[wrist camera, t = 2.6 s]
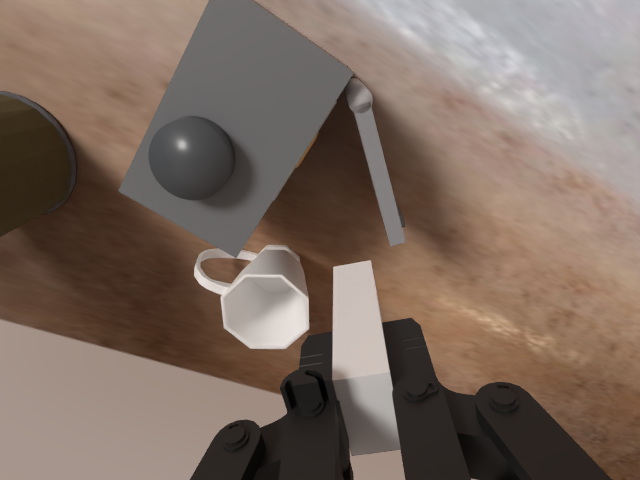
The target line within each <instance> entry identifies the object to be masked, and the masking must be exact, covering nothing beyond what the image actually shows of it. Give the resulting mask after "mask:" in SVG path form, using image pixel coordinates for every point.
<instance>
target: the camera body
mask: <svg viewBox="0 0 640 480" xmlns="http://www.w3.org/2000/svg"><path fill="white" fill-rule="evenodd" d="M352 75H353V72H352V71H351V70H350V69H349V68H348V66H346V65H345V64H343V63H342V62H341V61H339V60H338V59H336V58H335V57H333V56H332V55H331V54H329V53H328V52H326V51H325V50H324V49H322V48H321V47H319V46H318V45H316V44H315V43H314V42H312V41H311V40H309V39H308V38H307V37H305V36H304V35H302V34H301V33H299V32H298V31H297V30H295V29H294V28H292V27H291V26H289V25H288V24H287V23H285V22H284V21H282V20H281V19H280V18H278V17H277V16H275V15H274V14H272V13H271V12H270V11H268V10H267V9H265V8H264V7H263V6H261V5H260V4H258V3H257V2H255V1H254V0H209V2H208V4H207V6H206V8H205V10H204V12H203V14H202V16H201V18H200V20H199V23H198V25H197V27H196V29H195V31H194V33H193V35H192V37H191V39H190V41H189V44H188V46H187V48H186V50H185V52H184V54H183V56H182V58H181V60H180V62H179V65H178V67H177V69H176V71H175V73H174V75H173V77H172V79H171V81H170V83H169V86H168V88H167V90H166V92H165V94H164V96H163V98H162V100H161V102H160V104H159V106H158V109H157V111H156V113H155V115H154V117H153V119H152V121H151V123H150V125H149V127H148V130H147V132H146V134H145V136H144V138H143V140H142V142H141V144H140V146H139V148H138V151H137V153H136V155H135V157H134V159H133V161H132V163H131V165H130V167H129V169H128V172H127V174H126V176H125V178H124V180H123V182H122V184H121V186H120V188H119V190H118V191H119V192H120V193H122V194H124V195H126V196H127V197H129V198H131V199H133V200H134V201H136V202H138V203H140V204H142V205H143V206H145V207H147V208H149V209H150V210H152V211H154V212H156V213H157V214H159V215H161V216H163V217H164V218H166V219H168V220H170V221H171V222H173V223H175V224H177V225H178V226H180V227H182V228H184V229H185V230H187V231H189V232H191V233H193V234H194V235H196V236H198V237H200V238H201V239H203V240H205V241H207V242H208V243H210V244H212V245H214V246H215V247H217V248H219V249H221V250H222V251H224V252H226V253H228V254H229V255H231V256H233V257H235V258H237V256H238V255H239V253H240V252H241V250H242V248H243V247H244V245H245V244H246V242H247V241H248V239H249V237H250V236H251V234H252V233H253V231H254V230H255V228H256V226H257V225H258V223H259V222H260V220H261V218H262V217H263V215H264V214H265V212H266V211H267V209H268V207H269V206H270V204H271V203H272V201H274V200H275V199H276V197H277V196H278V194H279V193H280V191H281V189H282V188H283V186H284V185H285V183H286V182H287V180H288V178H289V177H290V175H291V174H292V172H293V171H294V169H295V167H297V168H298V166H299V165H300V163H301V162H302V160H303V159H304V157H305V155H306V154H307V152H308V151H309V149H310V148H311V146H312V144H313V143H314V141H315V140H316V138H317V137H318V132H319V130H320V128H321V126H322V125H323V123H324V122H325V120H326V119H327V117H328V115H329V114H330V112H331V111H332V109H333V108H334V106H335V104H336V103H337V102H336V100H337V98H338V97H339V95H340V94H341V92H342V91H343V89H344V87H345V86H346V84H347V83H348V81H349V80H350V78H351V76H352Z"/></svg>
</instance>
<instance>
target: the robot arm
mask: <svg viewBox="0 0 640 480" xmlns="http://www.w3.org/2000/svg"><path fill="white" fill-rule="evenodd" d="M300 357H301V359H300V364H299V365H300V367H299V370H296V371H294V372H292V373H291V374H289V375H288V376H287V377H286V378H285V379H284V380H283V381H282V384H281V386H280V390H281V393H282V396H283V399H284V402H285V405H286V408H287V414H286V415H285V416H284V417H282V418H281V419H279V420H277V421H275V422H273V423H271V424H269V425H266V426H264V427H261V428H259V426H258V425H257V424H256V423H255V422H253V421H250V420H239V421H235V422H233V423H230V424H229V425H227V426H225V427H224V428H223V429H221V430H220V431H219V432H218V434H217V435H216V436H215V437H214V439H213V441H212V442H211V444H210V446H209V448H208V449H207V451H206V453H205V455H204V456H203V458H202V460H201V461H200V463H199V465H198V467H197V468H196V470H195V472H194V474H193V476H192V477H191V479H190V480H353V471H352V467H351V463H350V452H349V447H350V451H351V454H352V456H355V455H362V454H371V453H378V452H386V451H393V450H401V454H402V461H403V467H404V473H405V479H406V480H471V478H472V479H477V480H612V479H611V478H610V477H609V476H608V475H607V474H606V473H605V472H604V471H603V470H602V469H601V468H600V467H599V466H598V465H597V464H596V463H595V462H594V461H593V459H592V458H591V457H590V456H589V455H588V454H587V453H586V452H585V451H584V450H583V449H582V448H581V447H580V446H579V445H578V444H577V443H576V442H575V441H574V440H573V439H572V438H571V437H570V436H569V435H568V433H567V432H566V431H565V430H564V429H563V428H562V427H561V426H560V425H559V424H558V423H557V422H556V421H555V420H554V419H553V418H552V417H551V416H550V415H549V414H548V413H547V412H546V411H545V410H544V409H543V407H542V406H541V405H540V404H539V403H538V402H537V401H536V400H535V399H534V398H533V397H532V396H531V395H530V394H529V393H528V392H527V391H525V390H524V389H523V388H521V387H520V386H517V385H514V384H511V383H505V382H495V383H489V384H487V385H485V386H483V387H481V388H480V389H479V391H478V392H477V393H476V395H467V394H460V393H456V392H453V391H450V390H448V389H447V388H445V387H444V386H442V385H441V384H440V382H439V381H438V379H437V377H436V375H435V371H434V368H433V365H432V362H431V358H430V355H429V352H428V349H427V346H426V342H425V339H424V336H423V333H422V329H421V326H420V325H419V324H418V323H417V322H415V321H414V320H413V319H412V318H408V319H401V320H395V321H389V322H382V316H381V311H380V306H379V301H378V295H377V290H376V285H375V280H374V274H373V269H372V264H371V260H369V261H363V262H357V263H352V264H346V265H341V266H335V267H333V332H328V333H322V334H316V335H310V336H308V337H307V339H306V340H305V342H304V343H303V345H302V347H301V356H300Z"/></svg>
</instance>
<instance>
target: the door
mask: <svg viewBox="0 0 640 480" xmlns="http://www.w3.org/2000/svg"><path fill="white" fill-rule="evenodd" d="M344 91H345V94H346V98H347V101H348V105H349V107H350V109H351V110H352V111H353V114H354V118H355V121H356V125H357V129H358V132H359V136H360V140H361V144H362V147H363V151H364V155H365V158H366V162H367V166H368V169H369V173H370V177H371V181H372V184H373V188H374V192H375V195H376V199H377V203H378V206H379V209H380V213H381V216H382V220H383V223H384V226H385V230H386V233H387V237H388V240H389V243H390V246H394V245H398V244H401V243H405V238H404V234H403V230H402V228H403V227H405V223H404V219H403V216H402V213H401V211H400V209H399V206H398V204H397V201H396V199H395V197H394V194H393V190H392V186H391V182H390V178H389V175H388V171H387V167H386V163H385V159H384V155H383V151H382V147H381V143H380V139H379V135H378V131H377V127H376V123H375V119H374V115H373V111H372V107H371V106H372V103H373V97H372V94H371V92H370V91H369V90H368V89H367V88H366V87H365V86H364V85H363V83H362V82H361V81H360V80H358V79H356V78H351V79H350V80H349V81H348V83H347V84H346V86H345V87H344Z"/></svg>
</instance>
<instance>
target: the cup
mask: <svg viewBox="0 0 640 480" xmlns="http://www.w3.org/2000/svg"><path fill="white" fill-rule="evenodd" d="M210 258H235V257H233V256H231V255H229V254H228V253H226V252H224V251H222V250H221V249H217V248H216V249H208V250H205V251H203V252H202V253H200V254H199V256H198V258H197V261H196V264H195V267H194V277H195V278H196V279H197V281H198V282H199V284H200V285H201V286H203V287H205V288H206V289H208V290H210V291H213V292H215V293H217V294H221V295H222V296H221V306H222V315H223V324H224V328H225V329H226V330H227V331H228V332H230V333H231V334H232V335H234V336H235V337H236V338H237V339H239V340H240V341H241V342H243V343H244V344H245V345H246V346H248V347H249V348H250V349H286V348H287V347H288V346H289V345H291V344H292V343H293V342H294V341H295V340H297V339H298V338H299V337H300V336H301V335H302V334H304V333H305V332H306V331H307V330H308V329H309V297H308V291H307V286H306V281H305V275H304V271H303V268H302V266H301V264H300V257H299V256H298V255H297V254H296V253H295V252H293V251H292V250H291V249H290V248H289V247H288V246H287V245H267V246H266V247H265V248H264V249H263V250H262V251H261V252H260V253H258V254H257V253H254V252H251V251H245V250H241V252H240V253H239V255H238V256H237V258H238V259H245V260H249V261H252V262H250V263H249V264H248V265H247V266H246V267H245V268H244V269H243V270H242V271H241V272H240V274H239V275H238V276H237V278H236V279H235V280H234V281H233V283H232V284H229V283H224V282H220V281H217V280H213V279H210V278H209V277H207V276H206V275H205V273H204V272H203V271H202V269H201V268H200V263H201V262H202V261H204V260H206V259H210Z"/></svg>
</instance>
